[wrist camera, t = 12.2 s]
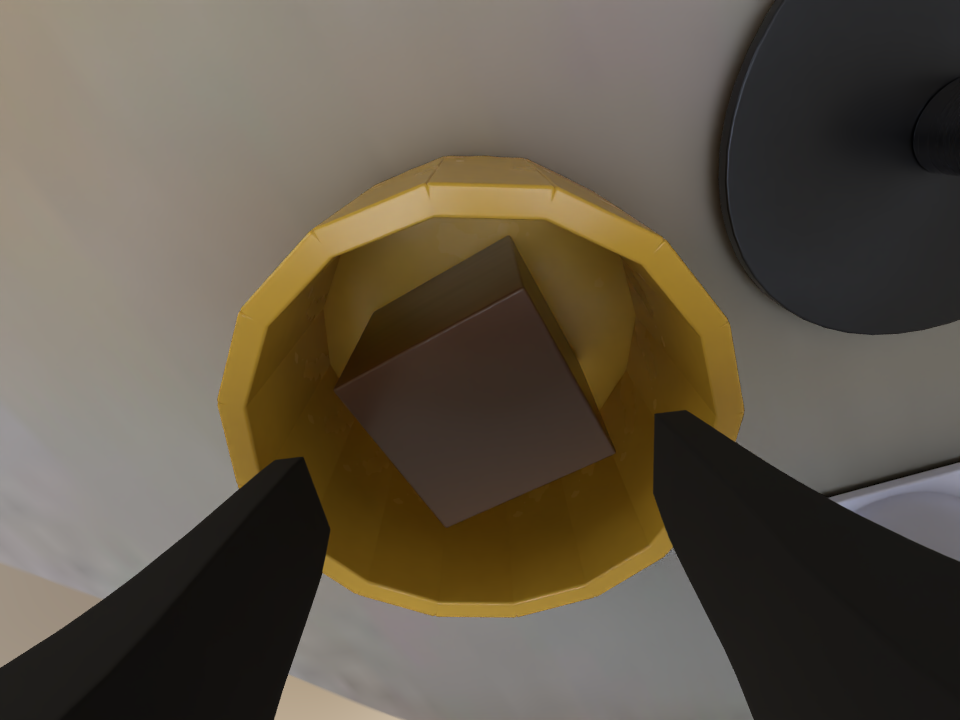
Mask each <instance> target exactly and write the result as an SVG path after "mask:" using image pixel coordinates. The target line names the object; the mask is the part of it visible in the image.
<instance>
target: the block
mask: <svg viewBox="0 0 960 720" xmlns="http://www.w3.org/2000/svg"><path fill="white" fill-rule="evenodd" d="M333 390H334V392H335V394H336V395H337V396H338V397H339V399H340V400H341V401H342V402H343V403H344V405H345V406H346V407H347V408H348V410H349V411H350V412H351V413H352V414H353V416H354V417H355V418H356V419H357V421H358V422H359V423H360V424H361V425H362V427H363V428H364V429H365V430H366V432H367V433H368V434H369V435H370V436H371V438H372V439H373V440H374V441H375V443H376V444H377V445H378V446H379V447H380V449H381V450H382V451H383V452H384V454H385V455H386V456H387V457H388V458H389V460H390V461H391V462H392V463H393V465H394V466H395V467H396V468H397V469H398V471H399V472H400V473H401V474H402V476H403V477H404V478H405V479H406V480H407V482H408V483H409V484H410V485H411V487H412V488H413V489H414V490H415V491H416V493H417V494H418V495H419V496H420V498H421V499H422V500H423V501H424V502H425V504H426V505H427V506H428V507H429V509H430V510H431V511H432V512H433V513H434V515H435V516H436V517H437V518H438V520H439V521H440V522H441V523H442V524H443V526H444V527H445V528H448V527H450V526H452V525H455V524H457V523H459V522H462V521H464V520H466V519H468V518H471V517H473V516H475V515H477V514H480V513H482V512H484V511H487V510H489V509H491V508H493V507H496V506H498V505H500V504H502V503H505V502H507V501H509V500H512V499H514V498H516V497H518V496H521V495H523V494H525V493H527V492H530V491H532V490H534V489H537V488H539V487H541V486H543V485H546V484H548V483H550V482H552V481H555V480H557V479H559V478H562V477H564V476H566V475H568V474H571V473H573V472H575V471H578V470H580V469H582V468H584V467H587V466H589V465H591V464H593V463H596V462H598V461H600V460H603V459H605V458H607V457H609V456H612V455H614V454H615V453H616V450H615V448H614V445H613V443H612V441H611V438H610V436H609V433H608V431H607V429H606V426H605V424H604V421H603V419H602V416H601V414H600V412H599V409H598V407H597V404H596V402H595V400H594V397H593V395H592V392H591V390H590V388H589V385H588V383H587V380H586V378H585V376H584V373H583V371H582V368H581V366H580V364H579V361H578V360H577V358H576V356H575V354H574V352H573V350H572V349H571V347H570V345H569V343H568V341H567V339H566V337H565V336H564V334H563V332H562V330H561V328H560V326H559V325H558V323H557V321H556V319H555V317H554V315H553V314H552V312H551V310H550V308H549V306H548V304H547V302H546V301H545V299H544V297H543V295H542V293H541V291H540V290H539V288H538V286H537V284H536V282H535V280H534V279H533V277H532V275H531V273H530V271H529V269H528V267H527V266H526V264H525V262H524V260H523V258H522V256H521V255H520V253H519V251H518V249H517V247H516V245H515V244H514V242H513V240H512V238H511V236H506V237H504V238H502V239H501V240H499V241H497V242H495V243H494V244H492V245H490V246H488V247H487V248H485V249H483V250H481V251H480V252H478V253H476V254H474V255H473V256H471V257H469V258H467V259H466V260H464V261H462V262H460V263H459V264H457V265H455V266H453V267H452V268H450V269H448V270H446V271H445V272H443V273H441V274H439V275H438V276H436V277H434V278H432V279H431V280H429V281H427V282H425V283H424V284H422V285H420V286H418V287H417V288H415V289H413V290H411V291H410V292H408V293H406V294H404V295H403V296H401V297H399V298H397V299H396V300H394V301H392V302H390V303H389V304H387V305H385V306H383V307H382V308H380V309H378V310H377V311H375V312H373V314H372V316H371V318H370V320H369V322H368V323H367V325H366V327H365V329H364V331H363V333H362V335H361V337H360V339H359V341H358V343H357V345H356V347H355V349H354V351H353V352H352V354H351V356H350V358H349V360H348V362H347V364H346V366H345V368H344V370H343V372H342V374H341V376H340V378H339V380H338V382H337V383H336V385H335V387H334V389H333Z"/></svg>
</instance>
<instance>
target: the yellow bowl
mask: <svg viewBox="0 0 960 720" xmlns="http://www.w3.org/2000/svg"><path fill="white" fill-rule="evenodd" d="M506 236H511V238H512V240H513V242H514V244H515V245H516V247H517V249H518V251H519V253H520V255H521V256H522V258H523V260H524V262H525V264H526V266H527V267H528V269H529V271H530V273H531V275H532V277H533V279H534V280H535V282H536V284H537V286H538V288H539V290H540V291H541V293H542V295H543V297H544V299H545V301H546V302H547V304H548V306H549V308H550V310H551V312H552V314H553V315H554V317H555V319H556V321H557V323H558V325H559V326H560V328H561V330H562V332H563V334H564V336H565V337H566V339H567V341H568V343H569V345H570V347H571V349H572V350H573V352H574V354H575V356H576V358H577V360H578V361H579V364H580V366H581V368H582V371H583V373H584V376H585V378H586V380H587V383H588V385H589V388H590V390H591V392H592V395H593V397H594V400H595V402H596V404H597V407H598V409H599V412H600V414H601V416H602V419H603V421H604V424H605V426H606V429H607V431H608V433H609V436H610V438H611V441H612V443H613V445H614V448H615V450H616V453H615V454H614V455H612V456H609V457H607V458H605V459H603V460H600V461H598V462H596V463H593V464H591V465H589V466H587V467H584V468H582V469H580V470H578V471H575V472H573V473H571V474H568V475H566V476H564V477H562V478H559V479H557V480H555V481H552V482H550V483H548V484H546V485H543V486H541V487H539V488H537V489H534V490H532V491H530V492H527V493H525V494H523V495H521V496H518V497H516V498H514V499H512V500H509V501H507V502H505V503H502V504H500V505H498V506H496V507H493V508H491V509H489V510H487V511H484V512H482V513H480V514H477V515H475V516H473V517H471V518H468V519H466V520H464V521H462V522H459V523H457V524H455V525H452V526H450V527H448V528H445V527H444V526H443V524H442V523H441V522H440V521H439V520H438V518H437V517H436V516H435V515H434V513H433V512H432V511H431V510H430V509H429V507H428V506H427V505H426V504H425V502H424V501H423V500H422V499H421V498H420V496H419V495H418V494H417V493H416V491H415V490H414V489H413V488H412V487H411V485H410V484H409V483H408V482H407V480H406V479H405V478H404V477H403V476H402V474H401V473H400V472H399V471H398V469H397V468H396V467H395V466H394V465H393V463H392V462H391V461H390V460H389V458H388V457H387V456H386V455H385V454H384V452H383V451H382V450H381V449H380V447H379V446H378V445H377V444H376V443H375V441H374V440H373V439H372V438H371V436H370V435H369V434H368V433H367V432H366V430H365V429H364V428H363V427H362V425H361V424H360V423H359V422H358V421H357V419H356V418H355V417H354V416H353V414H352V413H351V412H350V411H349V410H348V408H347V407H346V406H345V405H344V403H343V402H342V401H341V400H340V399H339V397H338V396H337V395H336V394H335V392H334V390H333V389H334V387H335V385H336V383H337V382H338V380H339V378H340V376H341V374H342V372H343V370H344V368H345V366H346V364H347V362H348V360H349V358H350V356H351V354H352V352H353V351H354V349H355V347H356V345H357V343H358V341H359V339H360V337H361V335H362V333H363V331H364V329H365V327H366V325H367V323H368V322H369V320H370V318H371V316H372V314H373V312H375V311H377V310H378V309H380V308H382V307H383V306H385V305H387V304H389V303H390V302H392V301H394V300H396V299H397V298H399V297H401V296H403V295H404V294H406V293H408V292H410V291H411V290H413V289H415V288H417V287H418V286H420V285H422V284H424V283H425V282H427V281H429V280H431V279H432V278H434V277H436V276H438V275H439V274H441V273H443V272H445V271H446V270H448V269H450V268H452V267H453V266H455V265H457V264H459V263H460V262H462V261H464V260H466V259H467V258H469V257H471V256H473V255H474V254H476V253H478V252H480V251H481V250H483V249H485V248H487V247H488V246H490V245H492V244H494V243H495V242H497V241H499V240H501V239H502V238H504V237H506ZM217 401H218V409H219V413H220V417H221V421H222V425H223V429H224V433H225V437H226V441H227V445H228V449H229V453H230V457H231V462H232V466H233V470H234V474H235V478H236V482H237V484H238V487H239V489H240V488H241V487H242V486H243V485H245V484H246V483H247V482H248V481H249V480H250V479H252V478H253V477H254V476H255V475H256V474H258V473H259V472H260V471H261V470H262V469H264V468H265V467H266V466H268V465H269V464H270V463H272V462H273V461H274V460H278V459H286V458H295V457H304V459H305V462H306V465H307V467H308V470H309V473H310V475H311V478H312V481H313V483H314V486H315V489H316V491H317V494H318V497H319V499H320V502H321V505H322V508H323V510H324V513H325V516H326V518H327V521H328V524H329V526H330V529H331V530H330V536H329V541H328V547H327V552H326V557H325V562H324V566H323V571H322V573H324V574H325V575H327V576H328V577H330V578H331V579H333V580H335V581H336V582H338V583H339V584H341V585H342V586H344V587H346V588H347V589H349V590H350V591H352V592H353V593H355V594H357V593H358V595H361V596H364V597H368V598H371V599H375V600H378V601H382V602H385V603H389V604H392V605H396V606H399V607H403V608H407V609H410V610H414V611H417V612H421V613H424V614H428V615H431V616H435V615H436V616H437V617H516V616H517V617H520V616H524V615H528V614H532V613H536V612H540V611H544V610H548V609H551V608H555V607H559V606H563V605H567V604H571V603H575V602H579V601H583V600H586V599H590V598H594V597H595V596H596V597H597V596H599V595H601V594H602V593H604V592H606V591H607V590H609V589H611V588H613V587H614V586H616V585H618V584H619V583H621V582H623V581H624V580H626V579H628V578H629V577H631V576H633V575H634V574H636V573H638V572H639V571H641V570H643V569H645V568H646V567H648V566H650V565H651V564H653V563H655V562H656V561H658V560H660V559H661V558H663V557H665V554H668V552H669V551H670V550H671V549H672V548H673V546H672V544H671V541H670V539H669V537H668V534H667V531H666V529H665V526H664V523H663V521H662V518H661V515H660V512H659V509H658V506H657V503H656V500H655V497H654V495H653V463H654V414H656V413H664V412H672V411H681V410H687V411H688V412H690V413H692V414H693V415H695V416H696V417H698V418H699V419H701V420H703V421H704V422H706V423H707V424H709V425H710V426H712V427H713V428H715V429H716V430H718V431H719V432H721V433H722V434H724V435H725V436H727V437H728V438H730V439H731V440H733V441H734V442H735V441H736V438H737V435H738V432H739V429H740V425H741V422H742V419H743V416H744V405H743V399H742V393H741V387H740V381H739V375H738V369H737V363H736V357H735V351H734V345H733V339H732V333H731V327H730V323H729V322H728V319H727V317H726V316H725V315H724V314H723V312H722V311H721V310H720V308H719V307H718V306H717V305H716V303H715V302H714V301H713V299H712V298H711V297H710V296H709V294H708V293H707V292H706V290H705V289H704V288H703V287H702V285H701V284H700V283H699V281H698V280H697V279H696V278H695V276H694V275H693V274H692V272H691V271H690V270H689V268H688V267H687V266H686V265H685V263H684V262H683V261H682V259H681V258H680V257H679V256H678V254H677V253H676V252H675V250H674V249H673V248H672V247H671V245H670V244H669V243H668V241H667V240H665V239H664V238H663V237H662V236H660V235H659V234H657V233H656V232H654V231H653V230H651V229H650V228H648V227H647V226H645V225H644V224H642V223H641V222H639V221H638V220H636V219H635V218H633V217H631V216H630V215H628V214H627V213H625V212H624V211H622V210H621V209H619V208H618V207H616V206H615V205H613V204H612V203H610V202H609V201H607V200H606V199H604V198H603V197H601V196H600V195H598V194H597V193H595V192H594V191H592V190H590V189H588V188H586V187H584V186H582V185H580V184H577V183H575V182H573V181H571V180H569V179H567V178H565V177H563V176H562V175H560V174H558V173H556V172H553V171H551V170H549V169H547V168H545V167H543V166H541V165H539V164H537V163H535V162H533V161H530V160H528V159H524V158H510V157H493V156H446V157H445V156H443V157H441V158H438V159H436V160H433V161H431V162H429V163H426V164H424V165H422V166H419V167H416V168H413V169H410V170H408V171H406V172H404V173H402V174H400V175H398V176H395V177H393V178H391V179H388V180H386V181H383V182H381V183H379V184H376V185H374V186H373V187H371V188H370V189H369V190H367V191H366V192H364V193H363V194H361V195H360V196H359V197H357V198H356V199H354V200H353V201H352V202H350V203H349V204H347V205H346V206H344V207H343V208H342V209H340V210H339V211H337V212H336V213H335V214H333V215H332V216H330V217H329V218H327V219H326V220H325V221H323V222H322V223H320V224H319V225H318V226H316V227H315V228H314V229H312V230H311V231H309V232H308V233H307V235H306V236H305V237H304V238H303V239H302V240H301V241H300V242H299V243H298V245H297V246H296V247H295V248H294V249H293V250H292V251H291V252H290V254H289V255H288V256H287V257H286V258H285V259H284V260H283V261H282V263H281V264H280V265H279V266H278V267H277V268H276V269H275V270H274V272H273V273H272V274H271V275H270V276H269V277H268V278H267V279H266V280H265V282H264V283H263V284H262V285H261V286H260V287H259V288H258V289H257V291H256V292H255V293H254V294H253V295H252V296H251V297H250V298H249V300H248V301H247V302H246V303H245V304H244V305H243V306H242V308H241V311H240V312H239V313H238V317H237V321H236V325H235V329H234V333H233V337H232V341H231V345H230V350H229V354H228V358H227V362H226V366H225V370H224V374H223V378H222V382H221V386H220V390H219V395H218V399H217Z"/></svg>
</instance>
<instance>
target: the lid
mask: <svg viewBox="0 0 960 720" xmlns="http://www.w3.org/2000/svg"><path fill="white" fill-rule="evenodd" d="M718 180H719V191H720V202H721V210H722V214H723V218H724V223H725V227H726V231H727V234H728V237H729V239H730V242H731V244H732V247H733V249H734V252H735V254H736V256H737V258H738V259H739V261H740V263H741V264H742V266H743V267H744V269H745V271H746V272H747V274H748V275H749V276H750V278H751V279H752V280H753V281H754V282H755V283H756V285H757V286H758V287H759V288H760V289H761V290H762V291H763V292H764V293H765V294H766V295H768V296H769V297H770V298H771V299H772V300H774V301H775V302H776V303H777V304H778V305H780V306H782V307H783V308H785V309H786V310H788V311H790V312H792V313H793V314H795V315H797V316H799V317H800V318H802V319H804V320H806V321H809V322H811V323H814V324H816V325H819V326H822V327H824V328H828V329H833V330H837V331H842V332H846V333H856V334H868V335H880V334H900V333H906V332H913V331H919V330H925V329H929V328H933V327H937V326H940V325H944V324H948V323H951V322H954V321H957V320H960V0H776V1H775V2H774V4H773V5H772V7H771V8H770V10H769V12H768V13H767V15H766V17H765V18H764V20H763V22H762V24H761V26H760V28H759V30H758V32H757V34H756V36H755V38H754V40H753V42H752V43H751V45H750V47H749V49H748V52H747V54H746V57H745V59H744V62H743V64H742V67H741V69H740V72H739V74H738V77H737V79H736V82H735V84H734V87H733V91H732V95H731V98H730V102H729V105H728V109H727V112H726V116H725V121H724V127H723V133H722V139H721V145H720V155H719V179H718Z"/></svg>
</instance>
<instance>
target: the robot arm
mask: <svg viewBox="0 0 960 720" xmlns="http://www.w3.org/2000/svg"><path fill="white" fill-rule="evenodd" d="M653 495H654V497H655V500H656V503H657V506H658V509H659V512H660V515H661V518H662V521H663V523H664V526H665V529H666V531H667V534H668V537H669V539H670V541H671V544H672V546H673V548H674V550H675V552H676V554H677V556H678V558H679V560H680V562H681V564H682V566H683V568H684V570H685V572H686V574H687V576H688V578H689V580H690V582H691V584H692V586H693V588H694V590H695V592H696V594H697V596H698V598H699V600H700V602H701V604H702V606H703V608H704V610H705V612H706V614H707V616H708V618H709V620H710V622H711V624H712V626H713V628H714V630H715V632H716V634H717V636H718V637H719V639H720V641H721V643H722V645H723V647H724V649H725V652H726V654H727V656H728V658H729V660H730V663H731V665H732V667H733V669H734V671H735V674H736V676H737V678H738V681H739V683H740V686H741V688H742V691H743V693H744V696H745V698H746V701H747V704H748V706H749V709H750V711H751V714H752V716H753V719H754V720H960V462H959V463H955V464H951V465H948V466H944V467H940V468H937V469H933V470H929V471H925V472H922V473H918V474H914V475H911V476H907V477H903V478H899V479H896V480H892V481H888V482H885V483H881V484H877V485H873V486H870V487H866V488H862V489H859V490H855V491H851V492H847V493H844V494H840V495H836V496H833V497H829V498H827V497H825V496H823V495H822V494H820V493H818V492H816V491H814V490H813V489H811V488H809V487H807V486H806V485H804V484H802V483H800V482H798V481H797V480H795V479H793V478H792V477H790V476H788V475H787V474H785V473H783V472H782V471H780V470H778V469H777V468H775V467H774V466H772V465H770V464H769V463H767V462H765V461H764V460H762V459H761V458H759V457H758V456H756V455H754V454H753V453H751V452H750V451H748V450H747V449H745V448H743V447H742V446H740V445H739V444H737V443H736V442H734V441H733V440H731V439H730V438H728V437H727V436H725V435H724V434H722V433H721V432H719V431H718V430H716V429H715V428H713V427H712V426H710V425H709V424H707V423H706V422H704V421H703V420H701V419H699V418H698V417H696V416H695V415H693V414H692V413H690V412H688V411H687V410H681V411H672V412H664V413H656V414H654V463H653ZM330 530H331V529H330V526H329V524H328V521H327V518H326V516H325V513H324V510H323V508H322V505H321V502H320V499H319V497H318V494H317V491H316V489H315V486H314V483H313V481H312V478H311V475H310V473H309V470H308V467H307V465H306V462H305V459H304V457H295V458H286V459H278V460H274V461H273V462H272V463H270V464H269V465H268V466H266V467H265V468H264V469H262V470H261V471H260V472H259V473H258V474H256V475H255V476H254V477H253V478H252V479H250V480H249V481H248V482H247V483H246V484H245V485H243V486H242V487H241V488H240V489H239V490H238V491H236V492H235V493H234V494H233V495H232V496H231V497H230V498H228V499H227V500H226V501H225V502H224V503H223V504H221V505H220V506H219V507H218V508H217V509H216V510H214V511H213V512H212V513H211V514H210V515H209V516H207V517H206V518H205V519H204V520H203V521H202V522H201V523H199V524H198V525H197V526H196V527H195V528H194V529H192V530H191V531H190V532H189V533H188V534H186V535H185V536H184V537H183V538H181V539H180V540H179V541H178V542H176V543H175V544H174V545H173V546H172V547H170V548H169V549H168V550H167V551H165V552H164V553H163V554H162V555H160V556H159V557H158V558H157V559H155V560H154V561H153V562H152V563H150V564H149V565H148V566H147V567H145V568H144V569H143V570H142V571H141V572H139V573H138V574H137V575H135V576H134V577H133V578H132V579H130V580H129V581H128V582H126V583H125V584H124V585H122V586H121V587H120V588H118V589H117V590H116V591H114V592H113V593H111V594H110V595H109V596H107V597H106V598H105V599H103V600H102V601H100V602H99V603H98V604H96V605H95V606H94V607H92V608H91V609H89V610H88V611H87V612H85V613H83V614H82V615H81V616H79V617H78V618H76V619H75V620H74V621H72V622H71V623H69V624H68V625H66V626H65V627H64V628H62V629H60V630H59V631H57V632H56V633H55V634H53V635H51V636H50V637H48V638H47V639H45V640H43V641H42V642H40V643H39V644H37V645H36V646H34V647H32V648H31V649H29V650H28V651H26V652H25V653H23V654H21V655H20V656H18V657H17V658H15V659H14V660H12V661H11V662H9V663H7V664H6V665H4V666H3V667H1V668H0V720H274V717H275V714H276V711H277V707H278V704H279V701H280V697H281V694H282V691H283V688H284V685H285V682H286V679H287V676H288V673H289V670H290V667H291V665H292V662H293V659H294V656H295V653H296V650H297V647H298V644H299V641H300V638H301V636H302V633H303V630H304V627H305V624H306V621H307V618H308V615H309V612H310V609H311V606H312V603H313V600H314V597H315V594H316V591H317V588H318V585H319V582H320V579H321V576H322V571H323V566H324V562H325V557H326V552H327V547H328V541H329V536H330Z"/></svg>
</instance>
